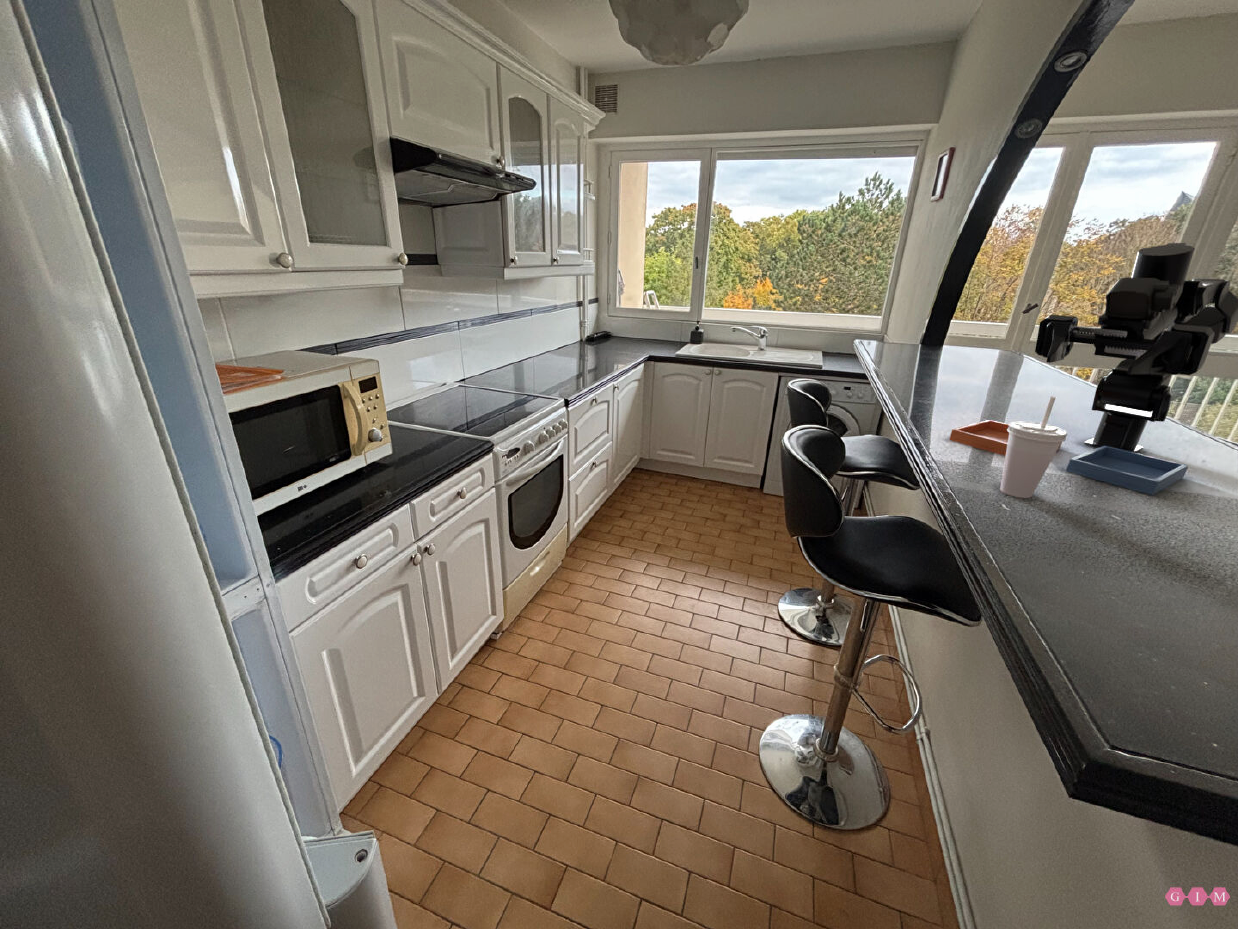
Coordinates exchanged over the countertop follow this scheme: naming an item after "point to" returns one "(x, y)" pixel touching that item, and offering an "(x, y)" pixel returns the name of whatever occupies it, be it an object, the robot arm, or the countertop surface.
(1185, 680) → the countertop surface
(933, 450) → the countertop surface
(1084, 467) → the blue tray
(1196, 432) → the countertop surface
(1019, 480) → the smoothie
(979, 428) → the orange tray
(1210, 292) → the robot arm
